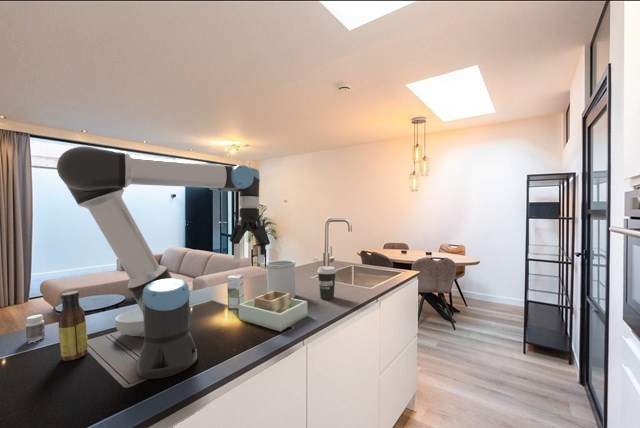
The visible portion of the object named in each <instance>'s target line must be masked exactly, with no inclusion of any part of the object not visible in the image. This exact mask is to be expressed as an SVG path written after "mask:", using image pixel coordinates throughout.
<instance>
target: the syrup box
mask: <svg viewBox="0 0 640 428" xmlns="http://www.w3.org/2000/svg"><path fill="white" fill-rule="evenodd" d="M244 279H245V278H244V274H229V276H227V277H226V283H227V285H226V286H227V309H228V310H239V304H241V303H244V302H245V288H244V287H245V285H244V284H245V283H244V282H245V281H244Z"/></svg>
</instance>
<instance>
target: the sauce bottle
mask: <svg viewBox="0 0 640 428" xmlns="http://www.w3.org/2000/svg"><path fill="white" fill-rule="evenodd" d="M79 296H80V291H78V290H73V291H72V290H71V291H67V292H64V293H61V295H60V299H61V301H62V302H61V303H62V307H61V308H62V309H61V311H60V313H59V315H58V317H57V318H58V319H57V320H58V321H57V322H58V338H59V346H60V356H61V360H62V361H65V362H66V361H67V362H70V361H73V360H78V359H80V357H81V358H82V356H83V357H84V356H85V355H87V354H88V348H89V344H88V330H87V321H86V314H85V310H84V309H83V308H82V306H80V302H79V301H80V300H79ZM69 360H70V361H69Z"/></svg>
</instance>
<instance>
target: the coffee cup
mask: <svg viewBox="0 0 640 428" xmlns="http://www.w3.org/2000/svg"><path fill="white" fill-rule="evenodd" d="M316 273H317V275H318V287H319V297H320V299H321V300H324V301H331V300H333V299H334V297H335V286H336V285H335V283H336V274H337V269H336V268H335V267H334V266H333V265H331V266H330V265H324V266H323V265H322V266H319V267H318V269H317V271H316Z"/></svg>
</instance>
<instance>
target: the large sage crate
mask: <svg viewBox="0 0 640 428" xmlns="http://www.w3.org/2000/svg"><path fill="white" fill-rule="evenodd" d="M308 315H309V314H308V301H307V300H302V299H297V298H291V308H290V309H288V310H286V311H284V312H282V313H276V312H272V311H268V310H264V309H260V308H256V307H254V298H252V299H250V300H246V301H244V303H241V304H239V309H238V320H241V321H244V322H247V323H251V324H254V325H258V326H261V327H264V328H267V329H271V330H274V331H278V332H282V331H283V330H286V329H287V328H289V327H291V326H293V325H294V324H296V323H298V322H299V321H301V320H302V319H305V318H306V317H308Z"/></svg>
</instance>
